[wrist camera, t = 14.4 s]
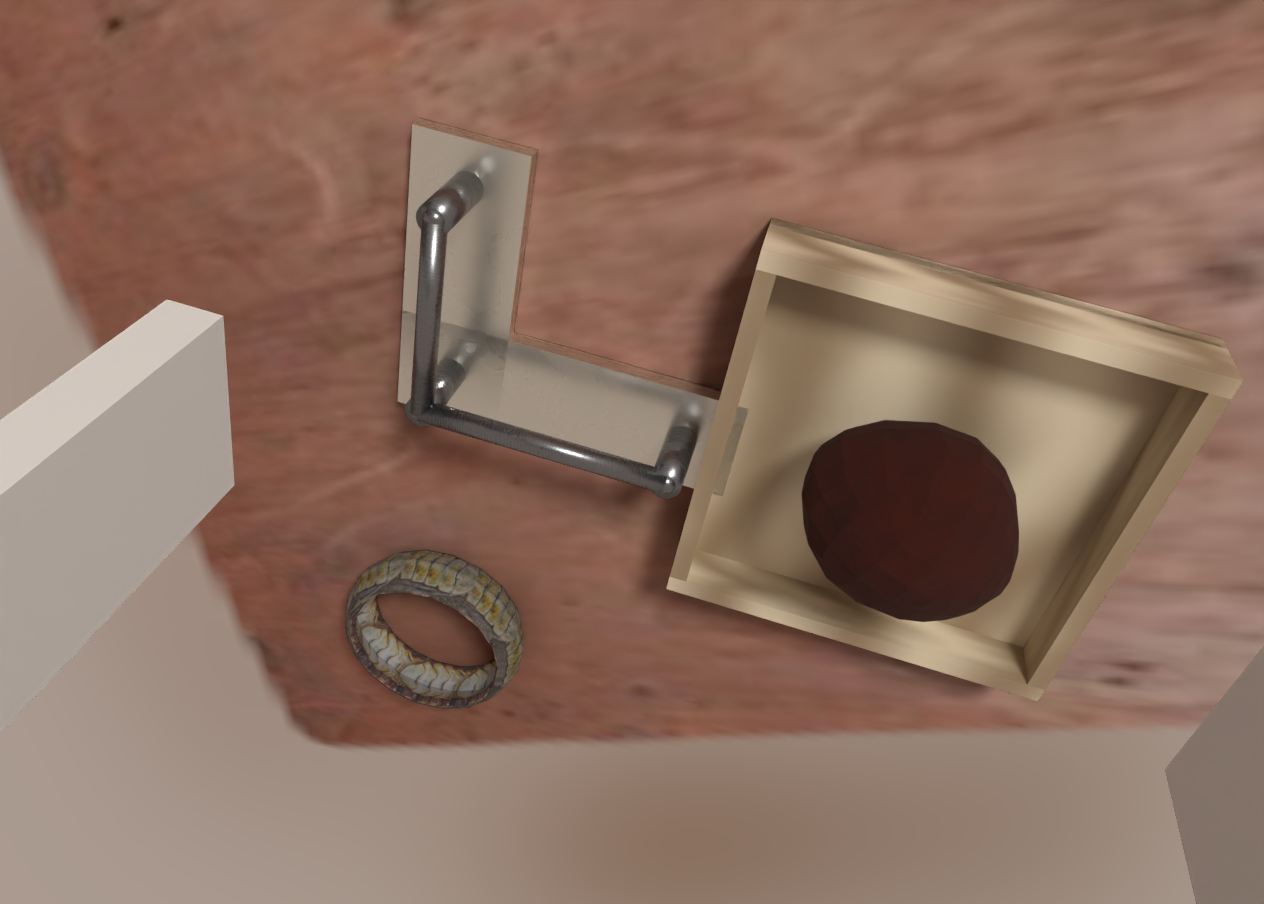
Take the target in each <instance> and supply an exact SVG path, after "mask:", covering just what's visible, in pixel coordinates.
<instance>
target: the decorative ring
mask: <svg viewBox="0 0 1264 904" xmlns="http://www.w3.org/2000/svg"><path fill="white" fill-rule="evenodd" d="M400 592H406V593H411V594H415V595H420V596H425V597H430V598H433V599H435V600H437V601H439V602H441V603H443V604H445V605H447V606H449V607H451V608H453V609H455V610H457V611H458V612H460V613H461V614H462V615H463V616H464V617H466V618H467V619H468V620H469V621H471V622H472V623H473V624H474V625H475V626H477V627H478V628H479V630H480V631H481V633H482V634H483V635H484V637H485V638H486V640H487V641H488V643H489V644H490V645H491V647H492V649H493V653H494V656H495V660H494V661H491V662H489V663H486V664H484V665H481V666H462V667H460V666H455V665H450V664H446V663H441V662H437V661H435V660H433V659H430V658H428V657H426V656H424V655H422V654H420V653H418V652H416V651H414V650H413V649H412V648H410V647H409V646H408V645H407V644H405V643H404V642H403V641H402V640H400V639H399V638H398V637H397V636H396V635H395V634H394V633H393V631H392V630H391V629H390V627H389V626H388V625H387V623H386V622H385V621H384V619H383V618H382V615H381V612H380V609H379V606H378V603H377V600H376V597H377V595H379V594H388V593H400ZM346 634H347V637H348V639H349V642H350V645H351V647H352V650H353V653H354V655H355V656H356V657H357V658H358V660H359V661H360V662H361V664H362V665H363V666H364V667H365V669H366V670H367V671H368V673H369V674H370V675H372V676H373V677H374V678H376V679H377V680H378V681H379V682H381V683H382V684H383V685H385V686H386V687H387V688H388V689H390V690H391V691H393V692H395V693H397V694H399V695H401V696H403V697H405V698H408V699H410V700H412V701H414V702H416V703H420V704H424V705H429V706H433V707H437V708H442V709H450V708H469V707H471V706H474V705H476V704H479V703H481V702H484V701H487V700H489V699H490V698H492V697H494V696H495V695H497V694H498V693H499V692H500V691H501V690H502V689H503V688H504V686H505V685H506V684H507V683H508V682H509V681H510V680H511V679H512V678H513V676H514V675H515V674H516V673H517V672H518V669H519V665H520V660H521V656H522V652H523V646H524V635H523V631H522V627H521V623H520V618H519V614H518V610H517V607H516V606H515V604H514V603H513V601H512V600H511V598H510V597H509V595H508V594H507V593H506V591H505V590H504V588H503V587H502V586H501V585H500V584H499V583H498V582H496V581H495V580H494V579H493V578H492V577H490V576H489V575H488V574H487V573H486V572H484V571H483V570H482V569H481V568H479V567H477V566H475V565H473V564H471V563H469V562H467V561H465V560H463V559H460V558H458V557H456V556H454V555H450V554H445V553H440V552H435V551H430V550H418V551H408V552H400V553H397V554H394V555H391V556H389V557H387V558H385V559H384V560H382V561H380V562H378V563H376V564H374V565H372V566H371V567H369V568H368V569H367V570H366V571H365V572H363V573H362V575H361V576H360V578H359V579H358V581H357V582H356V584H355V585H354V587H353V588H352V590H351V592H350V595H349V597H348V600H347V611H346Z"/></svg>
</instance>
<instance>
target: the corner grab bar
mask: <svg viewBox="0 0 1264 904" xmlns="http://www.w3.org/2000/svg"><path fill="white" fill-rule="evenodd" d="M537 153H538V150H536V149H533V148H529V147H525V146H521V145H518V144H514V143H510V142H507V141H503V140H499V139H495V138H492V137H488V136H484V135H480V134H477V133H473V132H469V131H466V130H462V129H458V128H454V127H451V126H447V125H443V124H440V123H436V122H432V121H428V120H425V119H421V118H420V119H419V120H417V121H416V122H415V123H413V124H412V139H411V158H410V177H409V196H408V215H407V234H406V252H405V271H404V290H403V309H402V328H401V347H400V366H399V384H398V402H401V403H404V404H406V405H405V414H406V416H407V418H408V419H409V420H410V421H411V422H412V423H414V424H415V425H418V426H422V427H426V426H430V425H432V426H435V427H438V428H442V429H445V430H449V431H452V432H455V433H459V434H462V435H466V436H469V437H472V438H476V439H479V440H483V441H486V442H489V443H493V444H496V445H499V446H503V447H506V448H510V449H513V450H516V451H520V452H523V453H527V454H530V455H533V456H537V457H540V458H543V459H547V460H550V461H554V462H557V463H560V464H564V465H567V466H571V467H574V468H577V469H581V470H584V471H588V472H591V473H594V474H598V475H601V476H604V477H608V478H611V479H615V480H618V481H621V482H625V483H628V484H632V485H635V486H638V487H642V488H645V489H649V490H651V491H652V492H653V493H654V494H655V495H657V496H659V497H661V498H666V499H669V498H674V497H676V496H677V495H678V494H679V493H680V491H681V488H682V485H683V486H687V487H690V488H693V489H694V488H695V484H696V481H697V477H698V474H699V470H700V467H701V463H702V459H703V456H704V452H705V449H706V445H707V442H708V438H709V434H710V431H711V427H712V424H713V420H714V417H715V413H716V409H717V406H718V402H719V399H720V395H721V392H722V391H719V390H716V389H712V388H709V387H705V386H701V385H698V384H694V383H691V382H687V381H684V380H680V379H677V378H673V377H670V376H666V375H663V374H659V373H656V372H652V371H649V370H645V369H642V368H638V367H635V366H631V365H628V364H624V363H621V362H617V361H614V360H610V359H607V358H603V357H600V356H596V355H593V354H589V353H586V352H582V351H579V350H575V349H572V348H568V347H565V346H561V345H558V344H554V343H551V342H547V341H544V340H540V339H537V338H533V337H530V336H526V335H523V334H519V333H516V332H514V331H515V323H516V316H517V308H518V300H519V293H520V285H521V277H522V269H523V262H524V254H525V246H526V238H527V231H528V223H529V215H530V207H531V200H532V192H533V184H534V176H535V169H536V161H537ZM739 407H740V406H739ZM739 407H738V408H739ZM740 409H742V410H740V414H742V413H743V415H744V414H745V415H744V417H746V416H747V414H748V412H747V410H749V409H747V408H741V407H740ZM738 410H739V409H738ZM745 410H746V411H745ZM744 411H745V412H744ZM736 412H737V411H736ZM737 413H738V412H737ZM743 415H741V417H742V418H741V419H742V421H741V419H740V418H739V419H740V420H739V419H738V417H739V416H738V415H737V416H738V417H735V418H737V420H734V423H735V422H736V421H738V422H739V421H741V422H742V423H741V424H742V425H743V424H745V422H744V423H743V421H744V420H745V419H746V418H745V419H744V417H743ZM738 422H736V423H738ZM736 423H735V424H736ZM735 424H734V426H735ZM741 424H740V423H738V425H737V424H736V425H737V426H739V425H740V427H741V426H742V425H741ZM734 426H732V428H733V427H734ZM737 426H736V427H737ZM743 427H744V426H742V428H740V430H742V429H743ZM732 428H731V429H732ZM734 429H735V428H733V429H732V430H733V431H734V432H733V434H734V433H736V432H735V431H736V430H734ZM737 429H738V430H739V427H737ZM740 430H739V431H737V432H739V434H738V435H739V436H738V437H737V438H738V440H737V441H739V439H740V436H741V434H740V432H742V431H740ZM730 434H731V435H730V436H729V437H732V435H733V434H732V433H730ZM736 434H737V433H736ZM735 437H736V436H735ZM735 437H734V438H735ZM734 438H733V439H734ZM737 438H735V439H737ZM728 440H729V438H728ZM730 440H731V444H732V443H733V444H732V445H734V444H735V442H732V441H733V440H732V438H731V439H730ZM734 441H735V440H734ZM737 441H736V442H737ZM729 443H730V441H729ZM732 445H731V446H730V445H727V447H726V448H728V446H730V447H731V449H732V450H733V448H734V447H733V448H732ZM735 446H736V445H735ZM737 447H738V445H737ZM737 447H736V448H737ZM726 448H725V449H726ZM729 449H730V448H729ZM734 449H735V448H734ZM727 450H728V449H727ZM727 450H726V451H727ZM726 451H725V452H726ZM728 451H730V450H728ZM725 452H724V453H725ZM726 454H727V453H726ZM728 454H730V453H728ZM731 454H732V455H733V454H734V453H731ZM724 455H725V454H724ZM732 455H730V456H728V457H731V456H732ZM725 456H726V455H725ZM725 456H724V457H725ZM734 456H735V455H733V459H734ZM726 457H727V456H726ZM723 459H725V458H723ZM727 461H728V460H727ZM731 461H733V460H732V457H731ZM724 462H725V461H724ZM722 463H723V462H722ZM729 463H730V461H729ZM724 464H726V463H724ZM722 465H723V464H722ZM728 465H730V464H728ZM724 466H727V465H724ZM722 467H723V466H722ZM727 467H728V466H727ZM730 467H731V466H730ZM730 467H729V468H730ZM720 468H721V467H720ZM724 468H725V467H724ZM722 469H723V468H722ZM726 469H727V468H726ZM719 470H720V469H719ZM724 470H725V469H724ZM724 470H723V471H724ZM726 471H728V470H726ZM726 471H724V472H725V473H726ZM721 473H722V472H721ZM721 473H720V474H721ZM725 473H724V474H725ZM729 473H730V472H729ZM727 474H728V473H726V475H725V476H722V475H723V474H722V475H721V476H722V478H723V477H725V479H727V478H726V476H727ZM728 476H729V475H728ZM728 476H727V477H728ZM717 477H718V476H717ZM722 478H721V479H722ZM721 479H720V481H721ZM723 479H724V478H723ZM723 479H722V480H723ZM725 479H724V480H725ZM717 481H718V478H717ZM726 481H727V480H725V481H724V483H725V482H726ZM722 482H723V481H722ZM716 483H720V482H719V481H718V482H716ZM715 485H716V484H715ZM719 485H720V484H719ZM722 485H723V483H722ZM724 486H725V485H724ZM715 487H716V486H715ZM718 488H719V486H718ZM715 489H717V488H715ZM722 489H723V488H722ZM724 490H725V489H724ZM714 491H715V490H714ZM716 491H717V490H716ZM717 492H718V491H717ZM723 492H724V491H723ZM720 493H721V492H720ZM713 494H715V493H713ZM718 494H719V493H718ZM716 495H717V494H716ZM720 495H721V494H720ZM722 496H723V495H722Z"/></svg>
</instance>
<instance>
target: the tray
mask: <svg viewBox="0 0 1264 904" xmlns="http://www.w3.org/2000/svg"><path fill="white" fill-rule="evenodd" d="M1242 382H1243V380H1242V378H1241V376H1240V374H1239V372H1238V370H1237V368H1236V366H1235V364H1234V362H1233V360H1232V358H1231V356H1230V354H1229V352H1228V350H1227V348H1226V346H1225V344H1224V342H1223V340H1222V339H1220V338H1216V337H1212V336H1209V335H1205V334H1201V333H1198V332H1194V331H1190V330H1186V329H1183V328H1179V327H1175V326H1172V325H1168V324H1164V323H1160V322H1157V321H1153V320H1149V319H1146V318H1142V317H1138V316H1134V315H1131V314H1127V313H1123V312H1120V311H1116V310H1112V309H1108V308H1105V307H1101V306H1097V305H1094V304H1090V303H1086V302H1082V301H1079V300H1075V299H1071V298H1068V297H1064V296H1060V295H1056V294H1053V293H1049V292H1045V291H1042V290H1038V289H1034V288H1030V287H1027V286H1023V285H1019V284H1016V283H1012V282H1008V281H1004V280H1001V279H997V278H993V277H990V276H986V275H982V274H978V273H975V272H971V271H967V270H964V269H960V268H956V267H952V266H949V265H945V264H941V263H938V262H934V261H930V260H926V259H923V258H919V257H915V256H912V255H908V254H904V253H900V252H897V251H893V250H889V249H886V248H882V247H878V246H874V245H871V244H867V243H863V242H860V241H856V240H852V239H848V238H845V237H841V236H837V235H834V234H830V233H826V232H822V231H819V230H815V229H811V228H808V227H804V226H800V225H796V224H793V223H789V222H785V221H782V220H778V219H774V218H772V219H771V222H770V225H769V228H768V231H767V234H766V237H765V240H764V243H763V246H762V249H761V252H760V256H759V259H758V263H757V267H756V270H755V274H754V277H753V281H752V284H751V288H750V292H749V295H748V299H747V302H746V306H745V309H744V313H743V317H742V320H741V324H740V327H739V331H738V334H737V338H736V342H735V345H734V349H733V352H732V356H731V359H730V363H729V367H728V370H727V374H726V377H725V381H724V384H723V388H722V392H721V395H720V399H719V402H718V406H717V409H716V413H715V417H714V420H713V424H712V427H711V431H710V434H709V438H708V442H707V445H706V449H705V452H704V456H703V459H702V463H701V467H700V470H699V474H698V477H697V481H696V484H695V488H694V492H693V495H692V499H691V502H690V506H689V509H688V513H687V517H686V520H685V524H684V527H683V531H682V534H681V538H680V542H679V545H678V549H677V552H676V556H675V559H674V563H673V567H672V570H671V574H670V577H669V581H668V584H667V588H666V589H668V590H672V591H675V592H678V593H681V594H685V595H688V596H691V597H695V598H698V599H701V600H705V601H708V602H711V603H714V604H718V605H721V606H724V607H728V608H731V609H734V610H738V611H741V612H744V613H747V614H751V615H754V616H757V617H761V618H764V619H767V620H771V621H774V622H777V623H780V624H784V625H787V626H790V627H794V628H797V629H800V630H804V631H807V632H810V633H813V634H817V635H820V636H823V637H827V638H830V639H833V640H837V641H840V642H843V643H846V644H850V645H853V646H856V647H860V648H863V649H866V650H870V651H873V652H876V653H879V654H883V655H886V656H889V657H893V658H896V659H899V660H902V661H906V662H909V663H912V664H916V665H919V666H922V667H926V668H929V669H932V670H935V671H939V672H942V673H945V674H949V675H952V676H955V677H959V678H962V679H965V680H968V681H972V682H975V683H978V684H982V685H985V686H988V687H992V688H995V689H998V690H1001V691H1005V692H1008V693H1011V694H1015V695H1018V696H1021V697H1025V698H1028V699H1031V700H1034V701H1038V700H1039V699H1040V697H1041V695H1042V694H1043V692H1044V691H1045V689H1046V688H1047V686H1048V685H1049V683H1050V681H1051V680H1052V678H1053V677H1054V675H1055V674H1056V672H1057V671H1058V669H1059V667H1060V666H1061V664H1062V663H1063V661H1064V660H1065V658H1066V656H1067V655H1068V653H1069V652H1070V650H1071V649H1072V647H1073V646H1074V644H1075V642H1076V641H1077V639H1078V638H1079V636H1080V635H1081V633H1082V632H1083V630H1084V628H1085V627H1086V625H1087V624H1088V622H1089V621H1090V619H1091V618H1092V616H1093V614H1094V613H1095V611H1096V610H1097V608H1098V607H1099V605H1100V603H1101V602H1102V600H1103V599H1104V597H1105V596H1106V594H1107V593H1108V591H1109V589H1110V588H1111V586H1112V585H1113V583H1114V582H1115V580H1116V579H1117V577H1118V575H1119V574H1120V572H1121V571H1122V569H1123V568H1124V566H1125V565H1126V563H1127V561H1128V560H1129V558H1130V557H1131V555H1132V554H1133V552H1134V550H1135V549H1136V547H1137V546H1138V544H1139V543H1140V541H1141V540H1142V538H1143V536H1144V535H1145V533H1146V532H1147V530H1148V529H1149V527H1150V526H1151V524H1152V522H1153V521H1154V519H1155V518H1156V516H1157V515H1158V513H1159V512H1160V510H1161V508H1162V507H1163V505H1164V504H1165V502H1166V501H1167V499H1168V497H1169V496H1170V494H1171V493H1172V491H1173V490H1174V488H1175V487H1176V485H1177V483H1178V482H1179V480H1180V479H1181V477H1182V476H1183V474H1184V473H1185V471H1186V469H1187V468H1188V466H1189V465H1190V463H1191V462H1192V460H1193V459H1194V457H1195V455H1196V454H1197V452H1198V451H1199V449H1200V448H1201V446H1202V444H1203V443H1204V441H1205V440H1206V438H1207V437H1208V435H1209V434H1210V432H1211V430H1212V429H1213V427H1214V426H1215V424H1216V423H1217V421H1218V420H1219V418H1220V416H1221V415H1222V413H1223V412H1224V410H1225V409H1226V407H1227V406H1228V404H1229V402H1230V401H1231V399H1232V398H1233V396H1234V395H1235V393H1236V391H1237V390H1238V388H1239V387H1240V385H1241V384H1242ZM739 406H740V407H741V408H747V409H749V410H747V412H748V414H747V416H746V417H744V415H745V414H744V415H743V413H742V414H740V410H742V409H740V407H739ZM738 407H739V408H738ZM738 409H739V410H738ZM736 411H737V412H738V413H737V412H736ZM745 411H746V410H745ZM745 411H744V412H745ZM737 415H738V416H739V417H738V416H737ZM741 415H743V417H744V419H745V418H746V419H745V420H744V421H743V423H744V422H745V424H743V425H742V424H741V423H742V422H741V421H742V419H741V418H742V417H741ZM735 417H738V419H739V418H740V419H741V421H739V422H738V421H736V422H738V423H740V424H741V425H742V426H744V427H743V429H742V430H740V428H742V426H741V427H740V425H739V426H737V425H738V423H736V422H735V423H736V424H737V425H736V424H735V423H734V420H737V418H735ZM740 419H739V420H740ZM882 420H896V421H915V422H934V423H938V424H941V425H943V426H946V427H949V428H951V429H954V430H957V431H960V432H962V433H965V434H968V435H971V436H973V437H976V438H978V439H979V440H980V441H981V442H982V443H983V444H984V445H985V446H986V447H987V448H988V449H989V450H990V451H991V452H992V453H993V454H994V455H995V456H996V457H997V458H998V459H999V461H1000V462H1001V463H1002V465H1003V466H1004V468H1005V469H1006V471H1007V474H1008V476H1009V479H1010V481H1011V484H1012V486H1013V489H1014V491H1015V494H1016V503H1017V513H1018V525H1019V553H1018V557H1017V560H1016V564H1015V568H1014V571H1013V574H1012V577H1011V580H1010V582H1009V584H1008V585H1007V586H1006V588H1005V589H1004V591H1003V592H1002V593H1001V595H999V596H997V597H996V598H994V599H993V600H991V601H989V602H988V603H986V604H985V605H983V606H982V607H980V608H979V609H977V610H976V611H975V612H972V613H969V614H966V615H963V616H959V617H956V618H952V619H948V620H942V621H930V622H918V621H909V620H900V619H897V618H894V617H892V616H889V615H887V614H884V613H882V612H879V611H877V610H874V609H872V608H869V607H867V606H864V605H862V604H859V603H857V602H856V601H855V600H853V599H852V598H851V597H850V596H848V595H847V594H846V593H845V592H843V591H842V590H841V589H839V588H838V587H837V586H836V585H834V584H833V583H832V582H831V581H829V580H828V579H827V578H826V577H825V575H824V573H823V571H822V569H821V567H820V565H819V564H818V562H817V560H816V558H815V556H814V554H813V553H812V551H811V549H810V547H809V545H808V542H807V538H806V533H805V529H804V523H803V508H802V494H801V493H802V488H803V483H804V478H805V476H806V473H807V470H808V468H809V465H810V463H811V460H812V458H813V455H814V454H815V452H816V451H817V450H818V449H819V447H820V446H821V445H822V444H824V443H825V442H827V441H828V440H830V439H832V438H833V437H835V436H836V435H838V434H839V433H841V432H843V431H844V430H847V429H850V428H853V427H857V426H861V425H866V424H870V423H874V422H878V421H882ZM734 424H735V426H734ZM732 426H734V427H733V428H735V429H734V430H736V431H735V432H736V433H737V434H736V433H734V434H733V432H734V431H733V430H732V429H733V428H732ZM736 426H737V427H739V430H740V431H742V432H740V434H741V436H740V439H739V441H737V440H738V438H737V437H738V436H739V435H738V434H739V432H737V431H739V430H738V429H737V427H736ZM731 428H732V429H731ZM730 433H732V434H733V435H732V437H729V436H730V435H731V434H730ZM735 436H736V437H735ZM734 437H735V438H737V439H735V438H734ZM728 438H729V440H728ZM731 438H732V440H733V441H732V442H735V444H734V445H732V444H733V443H732V444H731V440H730V439H731ZM733 438H734V439H733ZM734 440H735V441H734ZM729 441H730V443H729ZM736 441H737V442H736ZM727 445H730V446H731V445H732V448H733V447H734V448H735V449H734V448H733V450H732V449H731V447H730V446H728V448H726V447H727ZM735 445H736V446H735ZM737 445H738V447H737ZM736 447H737V448H736ZM725 448H726V449H725ZM729 448H730V449H729ZM727 449H728V450H730V451H728V450H727ZM726 450H727V451H726ZM725 451H726V452H725ZM724 452H725V453H724ZM726 453H727V454H726ZM728 453H730V454H728ZM731 453H734V454H733V455H735V456H734V459H733V455H732V454H731ZM724 454H725V455H726V456H727V457H726V456H725V455H724ZM730 455H732V456H731V457H732V460H733V461H731V457H728V456H730ZM724 456H725V457H724ZM723 458H725V459H723ZM727 460H728V461H727ZM724 461H725V462H724ZM729 461H730V463H729ZM722 462H723V463H722ZM724 463H726V464H724ZM722 464H723V465H722ZM728 464H730V465H728ZM724 465H727V466H728V467H727V466H724ZM722 466H723V467H722ZM730 466H731V467H730ZM720 467H721V468H720ZM724 467H725V468H724ZM729 467H730V468H729ZM722 468H723V469H722ZM726 468H727V469H726ZM719 469H720V470H719ZM724 469H725V470H724ZM723 470H724V471H726V470H728V471H726V473H728V474H727V476H728V475H729V476H728V477H727V476H726V478H727V479H725V477H723V478H724V479H725V480H727V481H726V482H725V483H724V481H725V480H724V479H723V478H722V476H725V475H726V473H725V472H724V471H723ZM721 472H722V473H721ZM729 472H730V473H729ZM720 473H721V474H720ZM724 473H725V474H724ZM722 474H723V475H722ZM721 475H722V476H721ZM717 476H718V477H717ZM717 478H718V481H719V482H720V483H716V482H718V481H717ZM721 478H722V479H723V480H722V479H721ZM720 479H721V481H720ZM722 481H723V482H722ZM722 483H723V485H722ZM715 484H716V485H715ZM719 484H720V485H719ZM724 485H725V486H724ZM715 486H716V487H715ZM718 486H719V488H718ZM715 488H717V489H715ZM722 488H723V489H722ZM724 489H725V490H724ZM714 490H715V491H714ZM716 490H717V491H718V492H717V491H716ZM723 491H724V492H723ZM720 492H721V493H720ZM713 493H715V494H713ZM718 493H719V494H718ZM716 494H717V495H716ZM720 494H721V495H720ZM722 495H723V496H722Z"/></svg>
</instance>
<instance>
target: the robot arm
mask: <svg viewBox="0 0 1264 904" xmlns="http://www.w3.org/2000/svg"><path fill="white" fill-rule="evenodd" d="M233 486H234V471H233V456H232V441H231V426H230V411H229V396H228V381H227V365H226V350H225V335H224V320H223V316H222V315H219V314H215V313H212V312H208V311H205V310H201V309H198V308H194V307H191V306H188V305H184V304H181V303H177V302H174V301H170V300H166V301H164V302H163V303H161V304H160V305H159V306H157V307H156V308H155V309H153V310H152V311H150V312H149V313H148V314H146V315H145V316H144V317H142V318H141V319H139V320H138V321H137V322H135V323H134V324H132V325H131V326H130V327H128V328H127V329H126V330H124V331H123V332H121V333H120V334H119V335H117V336H116V337H115V338H113V339H112V340H110V341H109V342H108V343H106V344H105V345H103V346H102V347H101V348H99V349H98V350H97V351H95V352H94V353H92V354H91V355H90V356H88V357H87V358H85V359H84V360H83V361H81V362H80V363H79V364H77V365H76V366H74V367H73V368H72V369H70V370H69V371H68V372H66V373H65V374H63V375H62V376H61V377H59V378H58V379H57V380H55V381H54V382H53V383H51V384H50V385H48V386H47V387H45V388H44V389H43V390H41V391H40V392H39V393H37V394H36V395H35V396H33V397H32V398H30V399H29V400H27V401H26V402H25V403H24V404H22V405H21V406H19V407H18V408H16V409H15V410H14V411H12V412H11V413H10V414H8V415H7V416H5V417H4V418H3V419H1V420H0V733H1V732H2V731H3V730H4V729H5V728H6V727H7V726H8V725H9V724H10V723H11V722H12V721H13V720H14V718H16V716H17V715H18V714H19V713H20V712H21V711H22V710H23V709H24V708H25V707H26V706H27V705H28V704H29V703H30V702H31V700H32V699H33V698H34V697H35V696H36V695H37V694H38V693H39V692H40V691H41V690H42V689H43V688H44V687H45V685H47V684H48V682H49V681H50V680H51V679H52V678H53V677H54V676H55V675H56V674H57V673H58V672H59V671H60V670H61V669H62V668H63V666H64V665H65V664H66V663H67V662H68V661H69V660H70V659H71V658H72V657H73V656H74V655H75V654H76V653H77V652H78V651H79V649H80V648H81V647H82V646H83V645H84V644H85V643H86V642H87V641H88V640H89V639H90V638H91V637H92V636H93V635H94V633H96V631H97V630H98V629H99V628H100V627H101V626H102V625H103V624H104V623H105V622H106V621H107V620H108V619H109V617H111V616H112V614H113V613H114V612H115V611H116V610H117V609H118V608H119V607H120V606H121V605H122V604H123V603H124V602H125V601H126V600H127V598H128V597H129V596H130V595H131V594H132V593H133V592H134V591H135V590H136V589H137V588H138V587H139V586H140V585H141V584H142V583H143V582H144V580H145V579H146V578H147V577H148V576H149V575H150V574H151V573H152V572H153V571H154V570H155V569H156V568H157V567H158V566H159V564H160V563H161V562H162V561H163V560H164V559H165V558H166V557H167V556H168V555H169V554H170V553H171V552H172V551H173V550H174V548H176V547H177V545H178V544H179V543H180V542H181V541H182V540H183V539H184V538H185V537H186V536H187V535H188V534H189V533H190V532H191V531H192V530H193V528H194V527H195V526H196V525H197V524H198V523H199V522H200V521H201V520H202V519H203V518H204V517H205V516H206V515H207V514H208V513H209V511H210V510H211V509H212V508H213V507H214V506H215V505H216V504H217V503H218V502H219V501H220V500H221V499H222V498H223V497H224V496H225V494H226V493H227V492H228V491H229V490H230V489H231V488H232V487H233ZM1165 772H1166V776H1167V781H1168V785H1169V789H1170V793H1171V798H1172V802H1173V806H1174V811H1175V815H1176V819H1177V823H1178V828H1179V832H1180V836H1181V841H1182V845H1183V849H1184V853H1185V858H1186V861H1187V866H1188V870H1189V875H1190V879H1191V883H1192V888H1193V892H1194V896H1195V901H1196V904H1264V647H1263V648H1262V649H1261V650H1260V652H1259V653H1258V654H1257V655H1256V657H1255V658H1254V659H1253V660H1252V662H1251V663H1250V664H1249V665H1248V667H1247V668H1246V669H1245V670H1244V672H1243V673H1242V674H1241V675H1240V677H1239V678H1238V679H1237V680H1236V682H1235V683H1234V684H1233V685H1232V686H1231V688H1230V689H1229V690H1228V691H1227V693H1226V694H1225V695H1224V696H1223V698H1222V699H1221V700H1220V701H1219V703H1218V704H1217V705H1216V706H1215V708H1214V709H1213V710H1212V711H1211V713H1210V714H1209V715H1208V716H1207V718H1206V719H1205V720H1204V721H1203V723H1202V724H1201V725H1200V726H1199V728H1198V729H1197V730H1196V731H1195V732H1194V734H1193V735H1192V736H1191V737H1190V739H1189V740H1188V741H1187V742H1186V744H1185V745H1184V746H1183V747H1182V749H1181V750H1180V751H1179V753H1178V754H1177V755H1176V756H1175V757H1174V759H1173V760H1172V761H1171V762H1170V764H1169V765H1168V766H1167V767H1166V769H1165Z"/></svg>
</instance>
